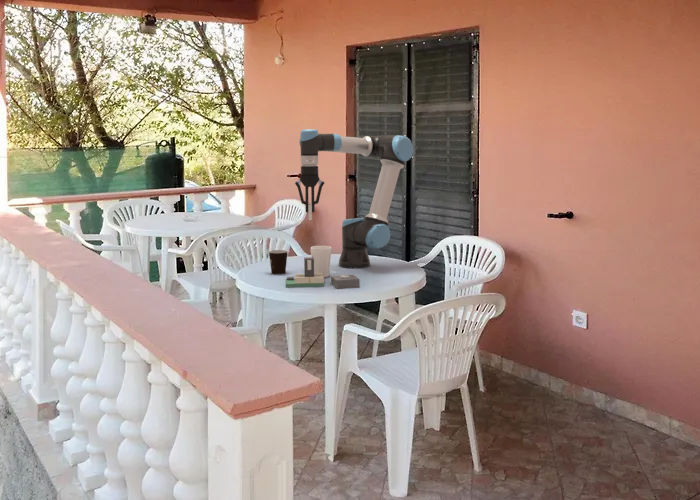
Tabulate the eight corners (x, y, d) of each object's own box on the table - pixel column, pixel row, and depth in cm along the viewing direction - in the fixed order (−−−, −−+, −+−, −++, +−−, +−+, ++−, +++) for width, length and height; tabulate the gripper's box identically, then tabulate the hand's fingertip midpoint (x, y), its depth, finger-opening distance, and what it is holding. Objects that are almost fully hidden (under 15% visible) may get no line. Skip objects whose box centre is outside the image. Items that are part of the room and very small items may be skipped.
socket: (322, 279, 326) (322, 273, 325) (323, 282, 318) (323, 277, 318) (295, 279, 325) (295, 274, 324) (295, 283, 317) (295, 277, 317)
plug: (313, 280, 324) (313, 257, 322) (314, 282, 319) (314, 259, 317) (304, 280, 323) (304, 257, 322) (304, 282, 319) (304, 259, 317)
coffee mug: (284, 275, 343) (284, 253, 341) (266, 274, 345) (266, 252, 343) (291, 270, 354) (291, 249, 352) (274, 269, 356) (273, 248, 354)
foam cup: (324, 278, 335) (323, 249, 333) (307, 276, 340) (306, 248, 337) (335, 275, 343) (335, 246, 340) (318, 273, 347) (318, 245, 345)
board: (322, 281, 329) (322, 276, 328) (323, 286, 318) (323, 281, 318) (285, 282, 327) (285, 276, 327) (285, 287, 317) (285, 282, 316)
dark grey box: (353, 282, 326) (353, 273, 325) (359, 287, 317) (359, 277, 316) (330, 283, 324) (330, 274, 323) (336, 288, 314) (336, 279, 313)
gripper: (294, 166, 321) (295, 221, 325) (325, 165, 322) (325, 220, 326) (294, 165, 329) (295, 218, 333) (324, 164, 330) (324, 218, 334)
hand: (310, 219), depth 329 cm, fingers closed
